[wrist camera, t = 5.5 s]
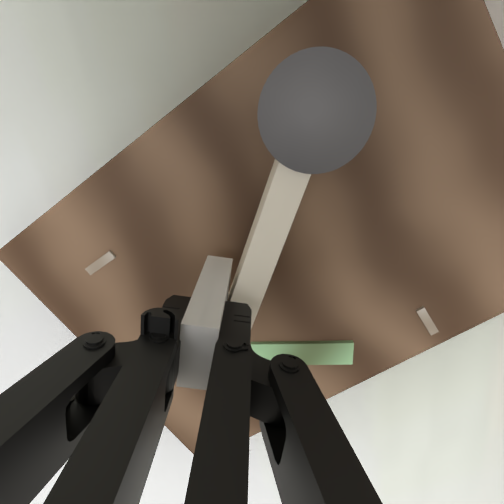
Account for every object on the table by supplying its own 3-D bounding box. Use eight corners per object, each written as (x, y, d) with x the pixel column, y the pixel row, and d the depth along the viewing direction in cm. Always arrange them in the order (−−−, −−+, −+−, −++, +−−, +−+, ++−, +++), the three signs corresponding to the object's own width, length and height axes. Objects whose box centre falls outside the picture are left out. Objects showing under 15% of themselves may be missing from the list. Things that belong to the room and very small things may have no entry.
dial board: (424, -86, 15) (443, -111, 14) (570, 259, 21) (596, 271, 19) (11, 245, 22) (-10, 255, 20) (203, 443, 27) (199, 464, 25)
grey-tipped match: (277, 52, 16) (280, 27, 12) (364, 84, 16) (397, 71, 12) (193, 319, 21) (176, 366, 17) (261, 339, 22) (260, 391, 17)
